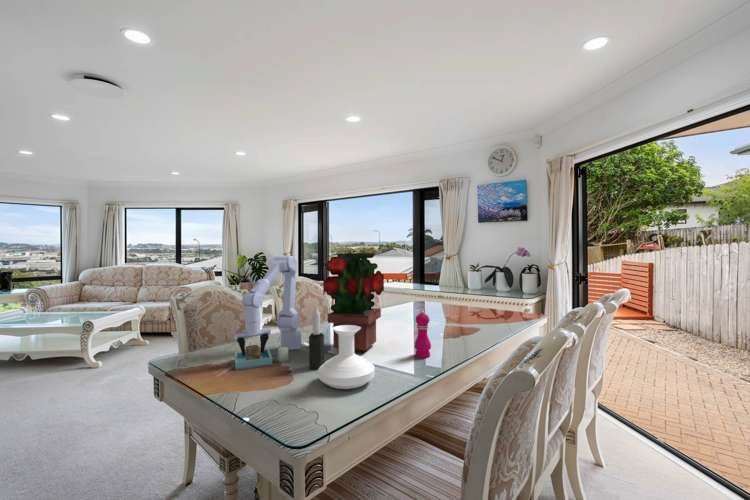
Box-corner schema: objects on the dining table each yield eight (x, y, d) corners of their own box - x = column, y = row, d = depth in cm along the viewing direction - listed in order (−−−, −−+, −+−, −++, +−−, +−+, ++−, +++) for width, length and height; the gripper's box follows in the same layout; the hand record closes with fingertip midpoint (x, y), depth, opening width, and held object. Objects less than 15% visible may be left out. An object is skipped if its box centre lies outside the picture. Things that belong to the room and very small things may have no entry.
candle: (320, 369, 137) (319, 306, 137) (308, 369, 138) (307, 305, 138) (325, 365, 142) (324, 304, 142) (313, 364, 143) (312, 303, 143)
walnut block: (256, 358, 150) (256, 344, 150) (259, 361, 146) (259, 346, 146) (245, 360, 148) (245, 346, 148) (248, 363, 144) (248, 348, 144)
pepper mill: (430, 353, 157) (430, 308, 157) (431, 358, 150) (431, 311, 149) (414, 353, 157) (414, 308, 157) (414, 358, 150) (414, 311, 150)
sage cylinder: (287, 357, 153) (287, 346, 152) (289, 360, 148) (289, 349, 148) (277, 359, 151) (276, 347, 151) (278, 362, 147) (278, 350, 147)
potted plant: (324, 353, 158) (323, 254, 158) (342, 340, 180) (341, 253, 179) (370, 357, 152) (369, 253, 152) (384, 343, 173) (383, 252, 173)
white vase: (346, 368, 138) (345, 320, 138) (386, 380, 125) (385, 326, 125) (306, 384, 123) (305, 329, 123) (347, 399, 110) (346, 338, 110)
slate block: (274, 352, 161) (274, 346, 161) (275, 355, 157) (275, 348, 157) (265, 353, 159) (265, 347, 159) (265, 356, 156) (265, 349, 156)
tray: (268, 355, 156) (268, 348, 156) (272, 365, 143) (272, 357, 143) (234, 359, 151) (234, 352, 150) (235, 370, 138) (235, 362, 138)
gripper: (266, 317, 154) (267, 348, 154) (232, 322, 146) (232, 354, 146) (272, 320, 148) (272, 352, 148) (236, 325, 140) (236, 358, 140)
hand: (252, 353), depth 147 cm, fingers open, 7 cm apart
